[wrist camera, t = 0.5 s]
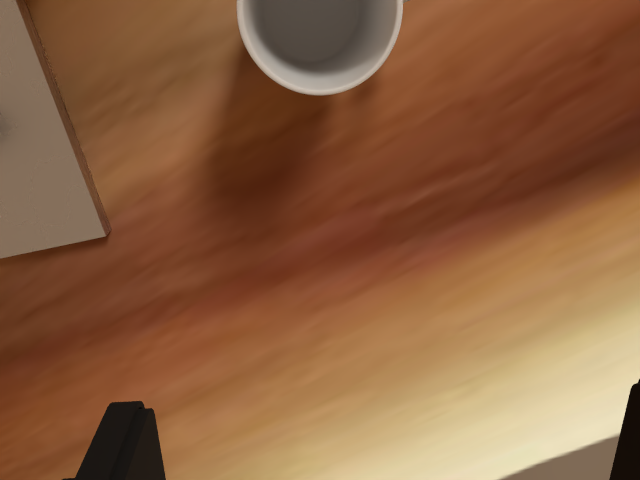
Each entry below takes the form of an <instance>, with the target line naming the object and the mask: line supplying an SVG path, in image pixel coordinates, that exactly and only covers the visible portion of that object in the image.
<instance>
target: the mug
mask: <svg viewBox="0 0 640 480" xmlns="http://www.w3.org/2000/svg"><path fill="white" fill-rule="evenodd" d="M407 1H409V0H237V20H238V26H239V31H240V34H241V37H242V40H243V43H244V45H245V47H246V49H247V51H248V53H249V54H250V56H251V58H252V59H253V60H254V62H255V63H256V64H257V66H258V67H259V68H260V69H261V70H262V71H263V72H264V73H265V74H266V75H267V76H268V77H270V78H271V79H272V80H273V81H275V82H276V83H278V84H280V85H281V86H283V87H285V88H287V89H290V90H292V91H295V92H298V93H302V94H307V95H332V94H337V93H341V92H344V91H347V90H349V89H351V88H354V87H356V86H357V85H359V84H361V83H362V82H364V81H365V80H367V79H368V78H369V77H370V76H372V75H373V74H374V73H375V72H376V71H377V70H378V69H379V68H380V66H381V65H382V64H383V63H384V61H385V60H386V59H387V57H388V56H389V54H390V52H391V50H392V48H393V46H394V44H395V42H396V39H397V36H398V33H399V30H400V26H401V20H402V12H403V3H405V2H407Z"/></svg>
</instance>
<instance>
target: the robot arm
mask: <svg viewBox="0 0 640 480" xmlns="http://www.w3.org/2000/svg"><path fill="white" fill-rule="evenodd" d="M62 480H166V478H165V472H164V466H163V460H162V454H161V448H160V443H159V437H158V431H157V425H156V419H155V414H154V410H153V409H152V408H148V409H145V407H144V404H143V402H141V401H132V402H112V403H110V404H109V406H108V407H107V410H106V412H105V414H104V416H103V418H102V420H101V423H100V425H99V427H98V429H97V431H96V434H95V436H94V438H93V440H92V442H91V444H90V447H89V449H88V451H87V453H86V455H85V457H84V460H83V462H82V464H81V466H80V468H79V471H78V473H77V475H76V477H75V478H68V479H62ZM609 480H640V379H639V381H638V383H637V384H634V385H633V386H632V388H631V391H630V395H629V399H628V403H627V407H626V412H625V416H624V420H623V424H622V429H621V433H620V437H619V441H618V446H617V450H616V454H615V458H614V462H613V467H612V471H611V475H610V479H609Z"/></svg>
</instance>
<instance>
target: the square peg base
mask: <svg viewBox="0 0 640 480" xmlns="http://www.w3.org/2000/svg"><path fill="white" fill-rule="evenodd" d="M110 231H111V228H110V225H109V222H108V220H107V217H106V214H105V212H104V209H103V206H102V204H101V201H100V198H99V196H98V193H97V191H96V188H95V185H94V183H93V180H92V177H91V175H90V172H89V169H88V167H87V164H86V161H85V159H84V156H83V153H82V151H81V148H80V145H79V143H78V140H77V138H76V135H75V132H74V130H73V127H72V124H71V122H70V119H69V116H68V114H67V111H66V108H65V106H64V103H63V100H62V98H61V95H60V92H59V90H58V87H57V85H56V82H55V79H54V77H53V74H52V71H51V69H50V66H49V63H48V61H47V58H46V55H45V53H44V50H43V47H42V45H41V42H40V39H39V37H38V34H37V32H36V29H35V26H34V24H33V21H32V18H31V16H30V13H29V10H28V8H27V5H26V2H25V0H0V258H5V257H10V256H15V255H19V254H24V253H29V252H34V251H39V250H43V249H48V248H53V247H58V246H62V245H67V244H72V243H77V242H81V241H86V240H91V239H96V238H101V237H105V236H107V235H108V233H109V232H110Z"/></svg>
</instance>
